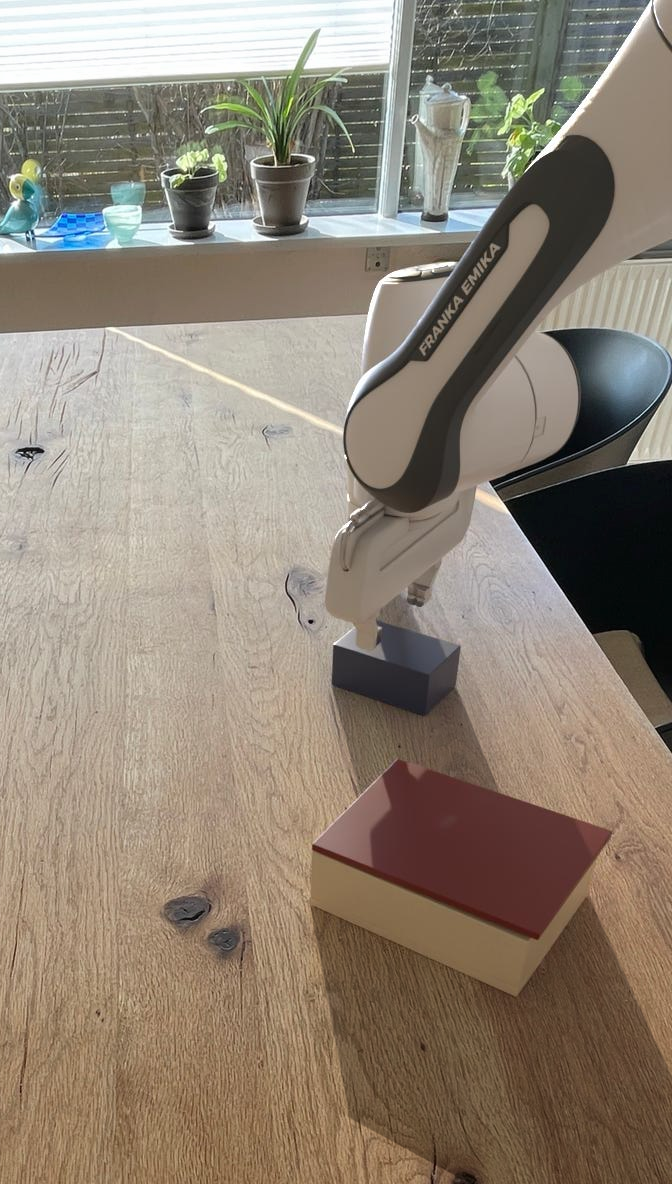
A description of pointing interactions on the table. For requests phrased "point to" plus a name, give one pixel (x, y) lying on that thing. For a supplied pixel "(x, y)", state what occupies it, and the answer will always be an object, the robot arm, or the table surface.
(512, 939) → the beige open box
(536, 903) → the cover
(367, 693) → the dark grey brick
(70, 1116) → the table surface
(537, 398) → the robot arm
